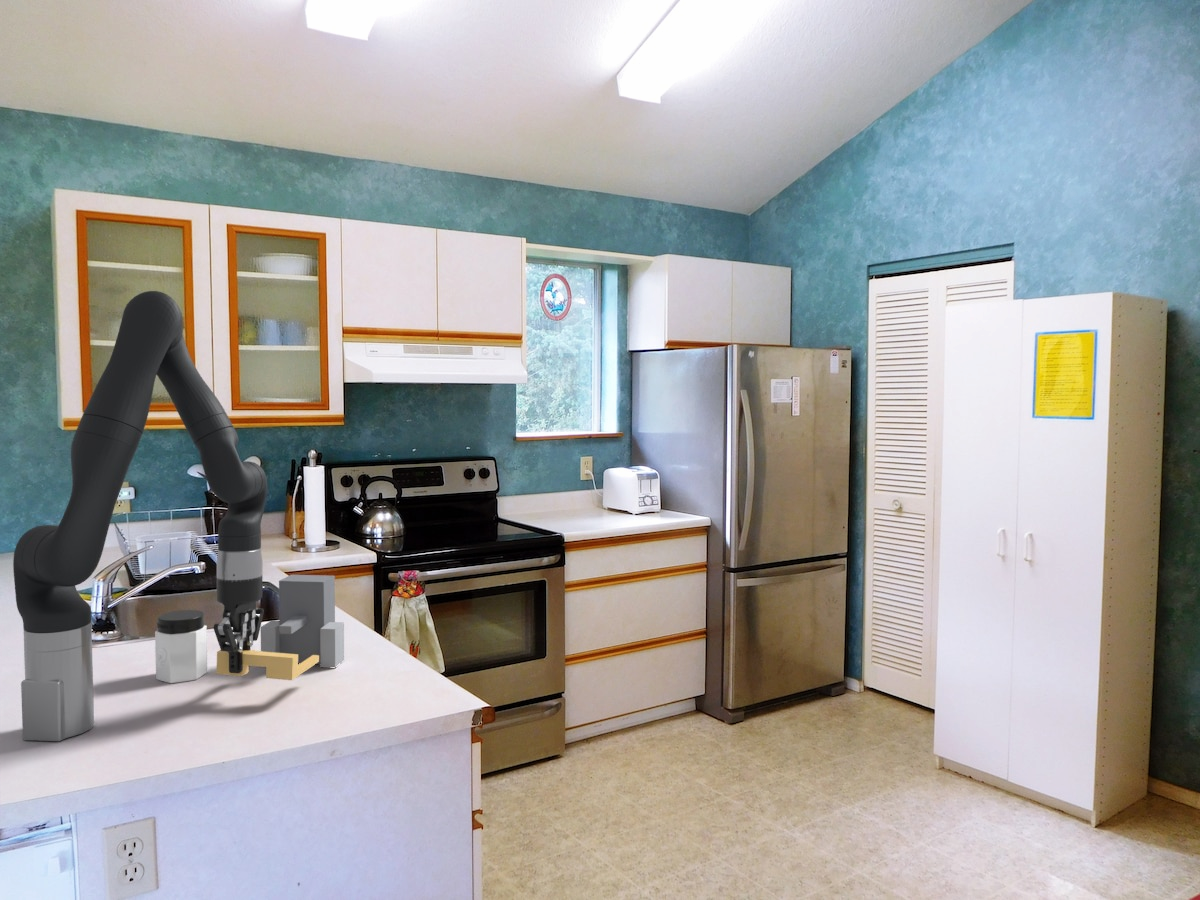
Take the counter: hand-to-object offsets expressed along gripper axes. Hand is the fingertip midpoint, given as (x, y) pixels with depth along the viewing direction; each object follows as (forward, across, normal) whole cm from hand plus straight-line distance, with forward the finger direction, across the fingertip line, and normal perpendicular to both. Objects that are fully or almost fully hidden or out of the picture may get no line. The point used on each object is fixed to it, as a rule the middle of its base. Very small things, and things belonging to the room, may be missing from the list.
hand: (239, 669), depth 151 cm
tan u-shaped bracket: (+1, +4, -3) cm, 6 cm away
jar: (+6, +11, +17) cm, 21 cm away
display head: (+5, +19, -2) cm, 20 cm away
